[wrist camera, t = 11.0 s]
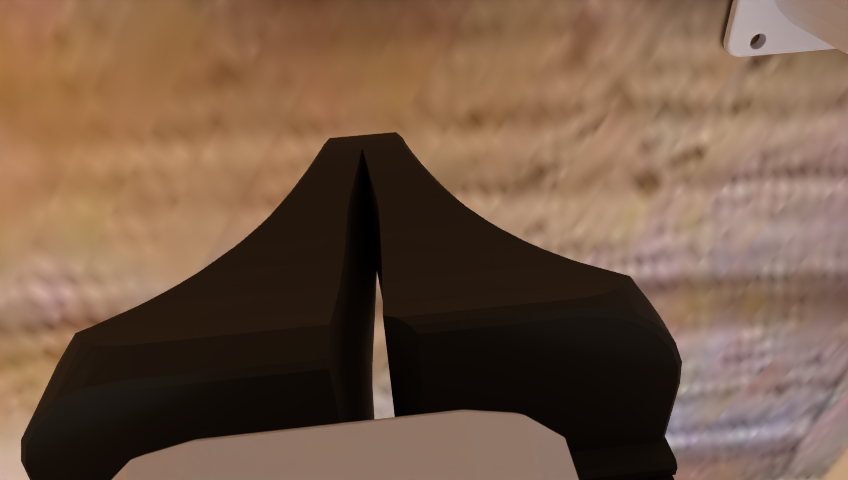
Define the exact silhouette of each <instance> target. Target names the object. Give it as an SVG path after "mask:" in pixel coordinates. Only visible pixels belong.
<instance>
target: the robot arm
mask: <svg viewBox="0 0 848 480" xmlns="http://www.w3.org/2000/svg"><path fill="white" fill-rule="evenodd" d="M757 34H760V37H759V39H758V41H757V42H756V43H755V44H753V45H750V42H751V40H752V38H753V37H754V36H755V35H757ZM724 48H725V50H726V51H727V52H728V53H730V54H731V55H733V56H735V57H745V56H757V55H769V54H780V53H792V52H804V51H816V50H828V49H838V50H840V51H842V52H844V53H846V54H847V55H848V0H733V3H732V7H731V12H730V16H729V20H728V24H727V29H726V33H725V37H724ZM377 274H378V279H379V284H380V289H381V294H382V300H383V320H384V329H385V337H386V346H387V354H388V363H389V371H390V380H391V388H392V397H393V405H394V414H395V417H392V418H383V419H374V405H373V388H372V361H373V340H374V320H375V300H376V278H377ZM681 366H682V361H681V358H680V355H679V352H678V349H677V346H676V343H675V341H674V339H673V338H672V336H671V334H670V332H669V331H668V329H667V327H666V326H665V324H664V322H663V321H662V319H661V317H660V316H659V314H658V313H657V312H656V310H655V309H654V307H653V306H652V304H651V303H650V301H649V300H648V299H647V298H646V296H645V295H644V294H643V293H642V291H641V290H640V289H639V288H638V287H637V285H636V284H635V282H634V281H633V279H632V278H631V277H630V276H627V275H624V274H620V273H616V272H613V271H609V270H605V269H602V268H598V267H594V266H591V265H587V264H583V263H580V262H577V261H574V260H571V259H568V258H565V257H563V256H560V255H557V254H555V253H552V252H549V251H547V250H544V249H542V248H539V247H537V246H535V245H532V244H530V243H528V242H526V241H523V240H522V239H520V238H518V237H516V236H514V235H512V234H510V233H508V232H506V231H504V230H502V229H500V228H499V227H497V226H495V225H493V224H492V223H490V222H488V221H487V220H485V219H484V218H482V217H481V216H479V215H478V214H476V213H475V212H473V211H472V210H470V209H469V208H467V207H466V206H465V205H464V204H462V203H461V202H460V201H459V200H458V199H456V198H455V197H454V196H453V195H452V194H451V193H450V192H448V191H447V190H446V189H445V188H444V187H443V186H442V185H441V184H440V183H439V182H438V181H437V180H436V179H435V178H434V177H433V176H432V175H431V174H430V173H429V171H428V170H427V169H426V168H425V167H424V166H423V165H422V164H421V163H420V161H419V160H418V159H417V158H416V156H415V155H414V154H413V153H412V151H411V150H410V149H409V147H408V146H407V144H406V143H405V141H404V140H403V138H402V137H401V136H400V135H399V134H398V133H396V132H394V133H383V134H371V135H360V136H349V137H337V138H329V139H328V141H327V142H326V143H325V144H324V146H323V147H322V149H321V150H320V152H319V153H318V155H317V156H316V158H315V159H314V161H313V162H312V164H311V165H310V167H309V168H308V170H307V171H306V172H305V174H304V175H303V176H302V178H301V179H300V180H299V182H298V183H297V184H296V186H295V187H294V188H293V190H292V191H291V192H290V193H289V195H288V196H287V197H286V198H285V199H284V200H283V201H282V203H281V204H280V205H279V206H278V207H277V208H276V209H275V210H274V212H273V213H272V214H271V215H270V216H269V217H268V218H267V219H266V220H265V221H264V222H263V223H262V224H261V225H260V226H259V227H258V228H256V229H255V230H254V231H253V232H252V233H251V234H249V235H248V236H247V237H246V238H245V239H244V240H243V241H241V242H240V243H239V244H238V245H236V246H235V247H234V248H232V249H231V250H229V251H228V252H227V253H225V254H224V255H222V256H221V257H220V258H218V259H217V260H215V261H214V262H212V263H211V264H210V265H208V266H207V267H205V268H204V269H203V270H201V271H200V272H198V273H197V274H195V275H193V276H192V277H190V278H188V279H187V280H185V281H183V282H182V283H180V284H178V285H177V286H175V287H173V288H171V289H169V290H167V291H166V292H164V293H162V294H160V295H158V296H156V297H155V298H153V299H151V300H149V301H147V302H145V303H143V304H141V305H139V306H137V307H135V308H132V309H130V310H128V311H126V312H123V313H121V314H119V315H117V316H114V317H112V318H110V319H108V320H106V321H103V322H101V323H99V324H97V325H94V326H92V327H90V328H87V329H85V330H82V331H80V332H77V333H75V335H74V337H73V338H72V340H71V342H70V343H69V345H68V347H67V349H66V350H65V352H64V354H63V355H62V357H61V359H60V361H59V362H58V364H57V366H56V368H55V370H54V373H53V375H52V377H51V379H50V381H49V383H48V385H47V387H46V389H45V391H44V394H43V396H42V398H41V400H40V402H39V404H38V406H37V408H36V410H35V412H34V414H33V416H32V418H31V420H30V422H29V425H28V427H27V429H26V431H25V433H24V435H23V437H22V439H21V462H22V464H23V466H24V468H25V470H26V472H27V475H28V477H29V479H30V480H674V478H673V476H672V475H675V474H676V471H677V463H676V459H675V457H674V455H673V452H672V450H671V448H670V446H669V444H668V442H667V440H666V438H665V433H666V430H667V426H668V423H669V419H670V416H671V412H672V409H673V405H674V402H675V398H676V395H677V391H678V388H679V384H680V377H681Z"/></svg>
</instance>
